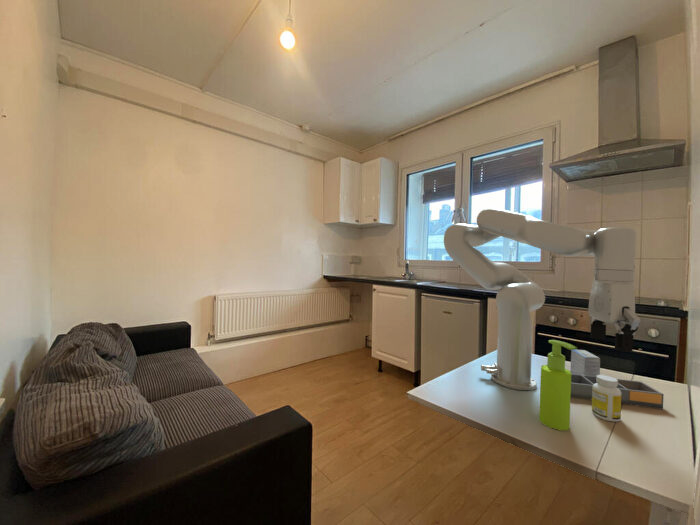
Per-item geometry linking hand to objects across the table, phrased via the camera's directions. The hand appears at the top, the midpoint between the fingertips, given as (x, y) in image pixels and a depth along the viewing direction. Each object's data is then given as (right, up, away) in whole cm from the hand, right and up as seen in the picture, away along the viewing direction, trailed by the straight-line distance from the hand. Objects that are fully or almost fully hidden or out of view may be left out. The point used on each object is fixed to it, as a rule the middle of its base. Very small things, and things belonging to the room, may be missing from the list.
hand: (609, 344), depth 70 cm
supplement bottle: (-1, -19, 0) cm, 19 cm away
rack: (+8, -18, +11) cm, 23 cm away
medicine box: (+12, -18, +22) cm, 32 cm away
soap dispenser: (-16, -18, -4) cm, 25 cm away
